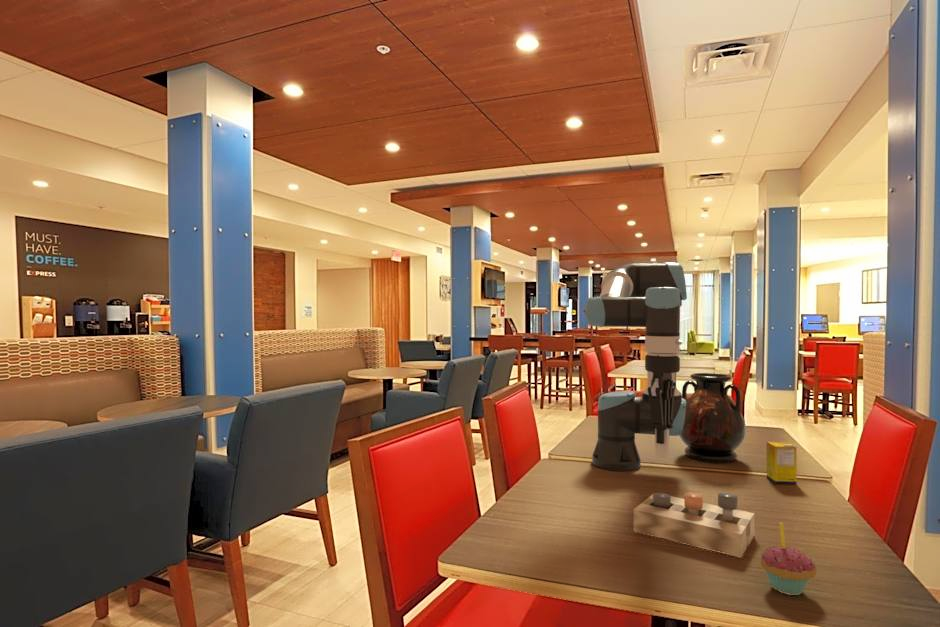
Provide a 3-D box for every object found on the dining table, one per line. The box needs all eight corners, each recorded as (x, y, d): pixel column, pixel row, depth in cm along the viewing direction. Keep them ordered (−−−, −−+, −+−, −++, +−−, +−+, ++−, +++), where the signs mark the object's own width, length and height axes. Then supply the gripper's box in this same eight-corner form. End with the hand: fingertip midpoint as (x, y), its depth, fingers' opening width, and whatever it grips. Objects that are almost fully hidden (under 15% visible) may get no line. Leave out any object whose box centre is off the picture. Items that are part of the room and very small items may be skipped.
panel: (633, 531, 122) (633, 509, 122) (654, 513, 133) (654, 492, 133) (741, 559, 108) (741, 534, 108) (754, 535, 119) (754, 513, 119)
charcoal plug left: (650, 518, 124) (650, 496, 124) (656, 513, 127) (656, 491, 127) (667, 521, 122) (667, 499, 122) (672, 516, 125) (672, 495, 125)
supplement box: (786, 478, 161) (787, 441, 161) (797, 484, 155) (797, 446, 155) (765, 477, 162) (766, 441, 162) (775, 484, 156) (775, 446, 156)
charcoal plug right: (716, 519, 116) (716, 496, 116) (720, 514, 119) (720, 491, 119) (735, 523, 114) (735, 499, 114) (739, 518, 117) (739, 494, 117)
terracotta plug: (682, 518, 120) (682, 496, 120) (687, 513, 123) (687, 491, 123) (700, 522, 118) (700, 499, 118) (704, 517, 121) (704, 495, 121)
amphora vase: (754, 456, 185) (754, 374, 185) (733, 470, 169) (734, 380, 169) (690, 446, 199) (690, 370, 199) (666, 457, 184) (666, 375, 184)
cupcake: (750, 578, 100) (750, 513, 100) (793, 576, 101) (793, 512, 101) (780, 603, 92) (780, 532, 92) (827, 601, 93) (827, 530, 93)
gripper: (670, 357, 117) (669, 466, 117) (687, 353, 127) (686, 453, 128) (636, 355, 122) (635, 460, 122) (655, 351, 132) (655, 448, 132)
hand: (661, 456), depth 125 cm, fingers closed
